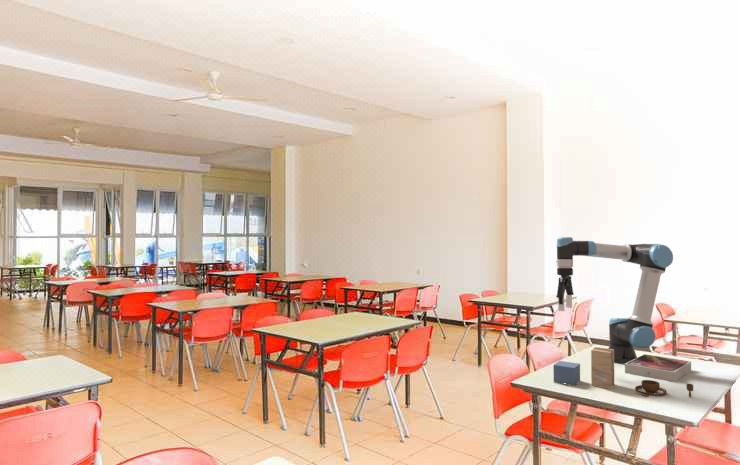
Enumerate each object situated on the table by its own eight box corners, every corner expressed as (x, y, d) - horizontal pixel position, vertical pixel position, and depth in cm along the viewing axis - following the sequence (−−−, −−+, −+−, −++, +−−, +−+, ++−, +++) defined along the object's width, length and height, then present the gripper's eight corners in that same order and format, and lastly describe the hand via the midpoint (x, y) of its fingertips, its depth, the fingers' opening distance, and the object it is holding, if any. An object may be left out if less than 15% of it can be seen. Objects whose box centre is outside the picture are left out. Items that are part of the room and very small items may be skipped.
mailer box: (595, 381, 234) (595, 347, 234) (614, 384, 229) (614, 349, 229) (591, 385, 227) (591, 350, 227) (610, 388, 223) (610, 352, 223)
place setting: (648, 386, 227) (648, 373, 228) (695, 398, 210) (695, 384, 210) (625, 392, 218) (625, 379, 219) (673, 406, 201) (673, 391, 201)
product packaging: (624, 373, 248) (624, 363, 248) (644, 363, 267) (644, 354, 267) (674, 383, 232) (674, 372, 232) (691, 371, 252) (691, 361, 252)
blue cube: (559, 377, 241) (559, 360, 241) (580, 380, 235) (580, 363, 235) (553, 382, 233) (553, 364, 233) (574, 385, 227) (574, 368, 227)
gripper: (564, 265, 267) (564, 305, 267) (549, 268, 247) (550, 311, 247) (579, 266, 262) (579, 306, 262) (565, 269, 242) (566, 312, 242)
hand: (565, 309), depth 254 cm, fingers open, 13 cm apart
